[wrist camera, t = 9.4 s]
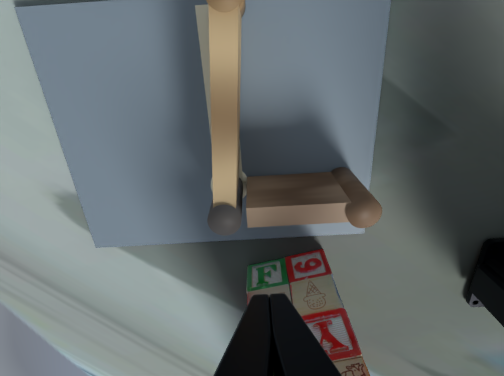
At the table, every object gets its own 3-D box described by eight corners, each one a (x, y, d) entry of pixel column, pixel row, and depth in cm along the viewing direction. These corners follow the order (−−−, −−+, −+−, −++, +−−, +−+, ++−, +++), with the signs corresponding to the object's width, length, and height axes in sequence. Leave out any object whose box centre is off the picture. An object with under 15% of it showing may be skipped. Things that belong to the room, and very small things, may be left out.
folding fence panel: (242, 198, 20) (240, 236, 16) (216, 197, 20) (207, 235, 16) (247, -12, 15) (246, -37, 11) (212, -14, 15) (198, -39, 11)
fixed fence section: (354, 166, 19) (384, 197, 15) (352, 191, 20) (379, 227, 16) (246, 172, 19) (245, 205, 15) (248, 196, 20) (248, 234, 16)
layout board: (389, -18, 16) (394, -21, 15) (362, 230, 22) (364, 234, 22) (19, 8, 16) (12, 7, 16) (98, 244, 22) (95, 248, 22)
